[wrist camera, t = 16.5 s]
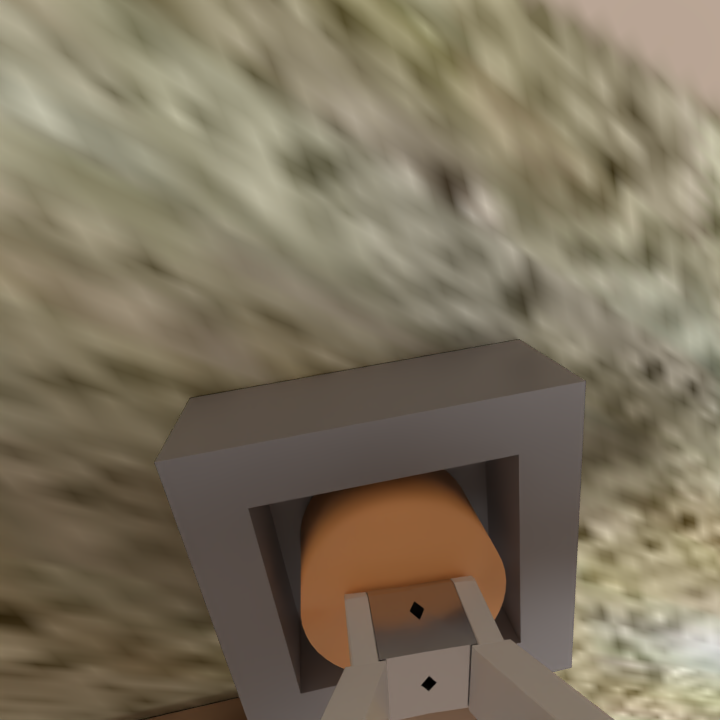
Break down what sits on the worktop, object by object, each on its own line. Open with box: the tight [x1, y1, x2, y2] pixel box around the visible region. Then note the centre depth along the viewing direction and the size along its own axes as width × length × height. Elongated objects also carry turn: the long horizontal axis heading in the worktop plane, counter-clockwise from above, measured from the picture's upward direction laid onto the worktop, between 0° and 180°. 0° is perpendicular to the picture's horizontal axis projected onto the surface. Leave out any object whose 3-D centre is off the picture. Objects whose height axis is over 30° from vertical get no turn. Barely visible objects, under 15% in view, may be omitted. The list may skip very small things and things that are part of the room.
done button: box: [300, 470, 506, 669], centre depth 11 cm, size 5×5×2 cm
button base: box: [154, 339, 586, 720], centre depth 12 cm, size 9×9×3 cm
